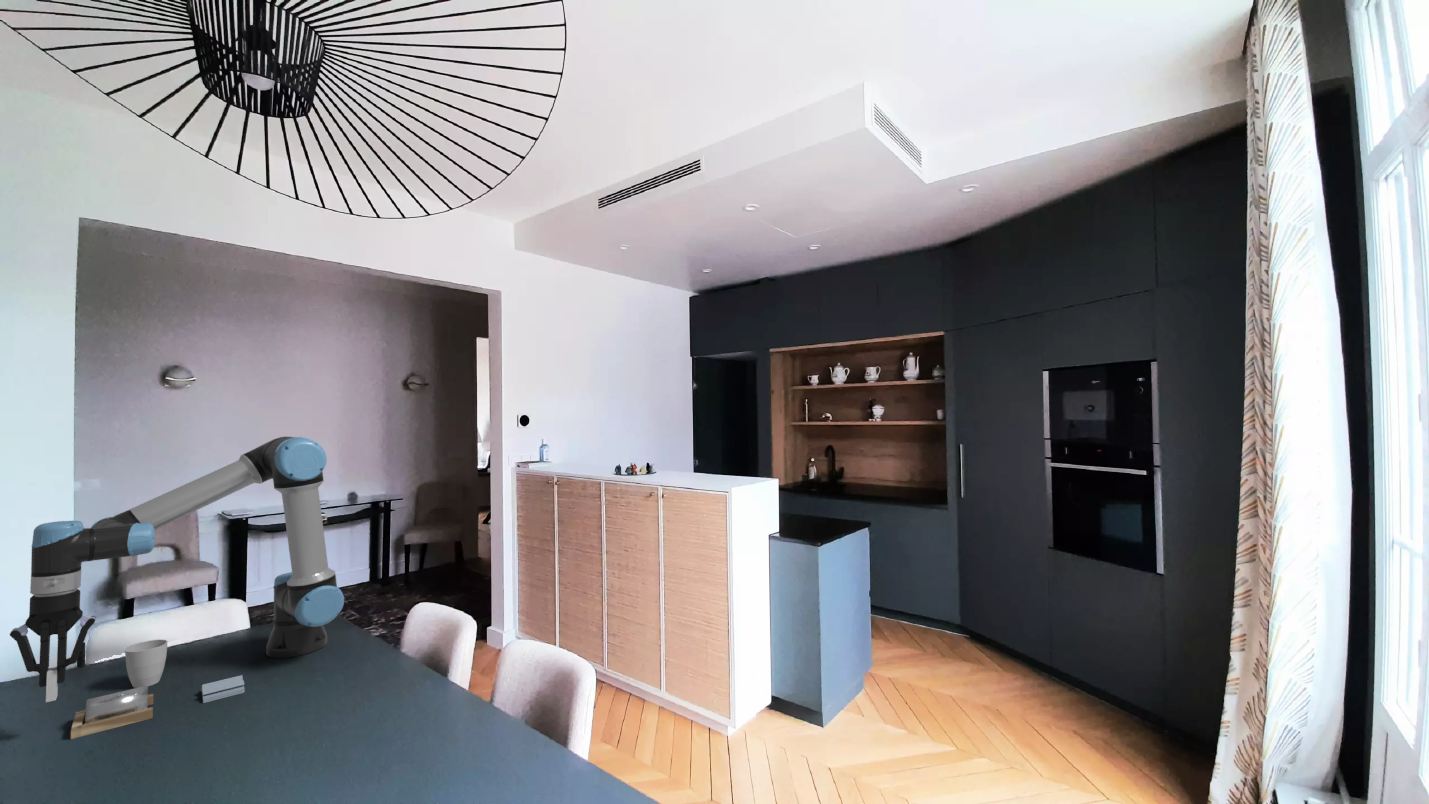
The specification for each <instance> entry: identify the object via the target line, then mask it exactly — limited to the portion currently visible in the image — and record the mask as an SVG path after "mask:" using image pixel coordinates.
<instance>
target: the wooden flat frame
mask: <svg viewBox="0 0 1429 804" xmlns="http://www.w3.org/2000/svg"><path fill="white" fill-rule="evenodd" d="M150 705H154V693H151V694H148V703H147V706H150ZM85 715H86V709H83V710H80V711H75V715H74V719H73V721H72V725H71V729H70V740H73V739H77V738H81V737H85V736H89V735H92V734H96V733H100V732H104V731H105V732H106V731H108V730H112V729H115V728H120V727H123V726H128V725H131V724H134V723H138V722H139V723H140V722H143V721H147V720H150V719H151V720H152V719H153V718H154V717H153V716H154V707H152V706H151V707H147V709H144V710H140V711H135V712H131V713H127V714H123V715H119V716H115V717H111V718H107V719H103V720H99V721H95V722H91V723H87V724H85Z"/></svg>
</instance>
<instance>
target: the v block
mask: <svg viewBox="0 0 1429 804" xmlns="http://www.w3.org/2000/svg"><path fill="white" fill-rule="evenodd" d="M245 689H246V688H245V680H244V679H243V674H241V675H237V676H234V677H233V676H232V677H228V678H225V679H220V680H217V681H211V682H208V683H204V684H202V685H201V697H202V703H203V704H206V703H209V702H213V701H216V700H217V701H218V700H220V699H224V698H228V697H232V696H236V695H240V694H244V693H246V692H245Z"/></svg>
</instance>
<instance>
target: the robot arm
mask: <svg viewBox="0 0 1429 804" xmlns="http://www.w3.org/2000/svg"><path fill="white" fill-rule="evenodd" d="M326 466H327V455H326V452H325V449H324V448H323V447H322V446H321V444H319V443H318V442H317V441H314V440H312V439H311V438H307V437H303V436H280V437H277V438H274V439H271V440H269V441H267V442H265V443H263V444H261V445H260V446H258V447H255V448H252V449H251V450H249V451H247V452H245V453H243V454H241V455H240V457H239V458H238V460H235V461H234V462H232V463H229V464H227V465H226V466H223V467H221V468H218V469H217V470H214V471H211V472H209V473H207V474H205V475H203V476H201V477H199V478H196V479H194V480H191V481H190V482H188V483H185V484H183V485H181V486H178V487H176V488H174V489H172V490H170V491H168V492H165V493H163V494H161V495H158V496H155V497H154V498H152V499H149V500H147V501H145V502H143V503H140V504H138V505H136V506H134V507H132V508H130V509H128V510H125V511H123V512H121V513H119V514H116V515H114V516H109V517H105V518H104V517H103V518H101V519H98V520H97V521H95V522H94V523H93V524H92V525H91V527H87V528H86V527H85V526H84V523H83V522H82V521H81V520H59V521H51V522H44V523H41V524H39V525H37V526H35V528H34V530H33V532H32V533H33V535H32V541H31V542H32V544H31V562H30V563H31V568H30V570H31V571H30V589H29V590H30V591H29V593H30V594H31V595H32V596H31V597H30V598H29V614H28V615H29V616H28V617H27V619H26V620H25V622H24V624H22V625H21V626H19V627H15V628H12V630H11V631H10V633H9V636H10V637H11V638H12V639H13V640H14V641H15V642H16V644H17V647H18V649H19V652H20V654H21V658H22V661H23V663H24V666H25V669H26V672H27V673H31V672H32V673H34V672H36V673H38V676H39V677H38V686H39V688H42V687H43V688H44V687H45V688H46V690H45V691H46V692H45V703H49V702H53V701H56V700H57V697H58V694H59V691H58V689H59V686H58V685H59V684H62V683H64V682H65V680H66V671H67V670H66V669H67V667H69V666H71V665H74V664H76V663H77V662H78V659H79V656H80V653H81V650H82V648H83V645H84V643H85V640H86V637H87V634H88V631H89V629H90V628H91V627H92V626H93V624H94V623H95V622H96V620H97V618H96V617H97V616H93V615H92V616H89V615H85V614H84V612H83V610H81V590H80V589H79V588H80V587H81V586H82V584H81V583H82V564H83V563H85V562H86V563H87V562H92V561H100V560H108V559H119V558H125V557H126V558H127V557H137V556H139V555H146V554H149V553H151V552H152V551H153V550H154V547H155V541H156V540H155V539H156V535H155V534H156V533H155V532H156V531H157V530H158V529H161V528H163V527H164V526H167V525H169V524H171V523H173V522H175V521H177V520H179V519H182V518H184V517H186V516H187V515H190V514H192V513H194V512H196V511H198V510H200V509H202V508H204V507H207V506H209V505H211V504H213V503H215V502H217V501H219V500H221V499H223V498H225V497H228V496H229V495H232V494H233V493H235V492H238V491H241V490H242V489H244V488H246V487H248V486H250V485H253V484H259V485H260V484H263V483H265V482H267V481H270V480H272V482H273V483H272V484H273V489H274V490H276V491H278V492H279V493H280V494H281V499H282V506H283V514H284V520H285V522H284V523H285V528H286V535H287V536H286V537H287V543H288V552H289V561H290V567H291V571H290V572H286V573H282V574H279V575H277V576H276V577H275V578H274V583H273V628H272V630H271V632H270V635H269V637H268V641H267V643H266V647H265V655H266V656H267V657H270V658H274V659H275V658H277V659H280V658H281V659H284V658H285V659H286V658H292V657H298V656H302V655H306V654H309V653H310V654H311V653H313V652H315V651H318V650H320V649H322V648H323V647H325V646H326V645H327V644H328V634H327V632H326V629H325V625H327V624H329V623H330V622H332V621H333V620H334V619H335V618H337V617H338V616H339V614H340V613H341V611H342V610H343V608H344V603H345V596H344V594H343V592H342V590H341V589H340V588H339V587H338V583H337V577H336V571H335V570H334V569H331V568H330V567H329V564H328V563H329V560H328V556H327V548H326V547H327V546H326V538H325V532H324V525H323V524H324V523H323V516H322V509H321V508H322V507H321V500H320V499H321V498H320V492H319V491H320V489H319V487H320V486H321V485H322V484H323V482H325V480H324V473H323V471H324V469H325V467H326ZM79 621H80V622H79ZM78 622H79V626H80V627H81V628H80V630H79V633H78V636H77V639H76V642H75V645H74V647H73V650H72V652H71V654H70V655H71V656H70V657H67V651H68V632H69V631H70V630H71V629H72V628H73V627H74V626H75V625H76V624H77V623H78ZM28 630H31V631H32V632H33V633H34V634H36V635H38V636H39V637H40V638H39V643H40V644H39V646H40V647H39V663H38V662H37V661H36V659H35V656H34V653H33V649H32V646H31V643H30V641H29V637H28V635H27V634H28V633H29V631H28ZM53 635H57V653H56V656H57V657H56V666H54V667H50V650H51V649H50V648H51V647H50V646H51V636H53ZM49 667H50V668H49Z"/></svg>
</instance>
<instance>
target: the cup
mask: <svg viewBox="0 0 1429 804" xmlns="http://www.w3.org/2000/svg"><path fill="white" fill-rule="evenodd" d="M167 651H168V640H167V639H152V640H147V641H141V642H138V643H134V644H132V645H129V646H128V647H126V648H125V650H124V652H125V653H124V654H125V655H124V657H125V666H126V671H127V676H128V679H129V681H130V683H131V685H132V687H133V689H135V688H139V687H144V686H148V687H151V686H153V685H156V684H157V683H159V682H160V680H161V677H162V675H163V672H164V669H165V665H166V660H167V654H168V653H167Z"/></svg>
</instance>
